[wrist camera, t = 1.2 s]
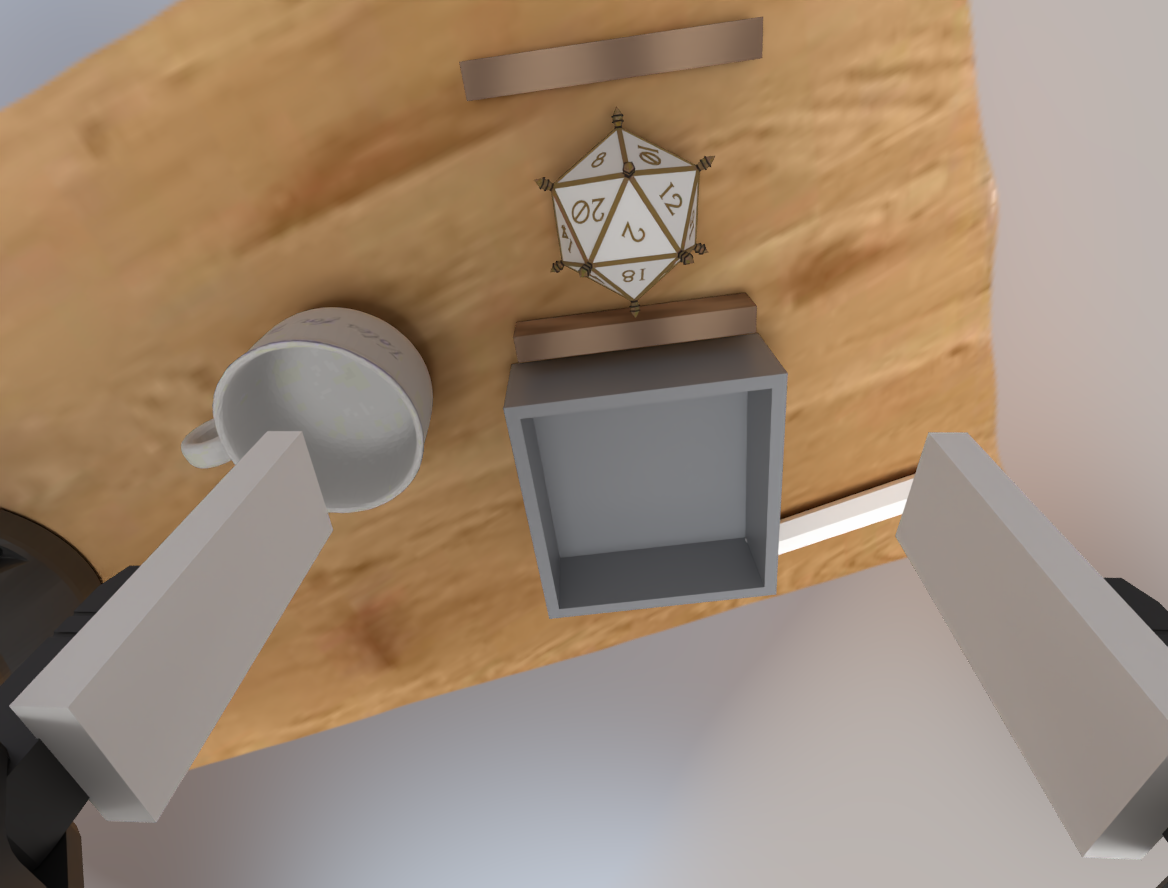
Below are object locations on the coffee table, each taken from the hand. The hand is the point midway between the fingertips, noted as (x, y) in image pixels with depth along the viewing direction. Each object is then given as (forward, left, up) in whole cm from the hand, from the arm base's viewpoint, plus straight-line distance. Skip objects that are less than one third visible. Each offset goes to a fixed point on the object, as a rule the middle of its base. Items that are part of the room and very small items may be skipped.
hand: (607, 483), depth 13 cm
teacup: (-17, -7, -25) cm, 31 cm away
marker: (+15, -22, -25) cm, 37 cm away
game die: (+2, +1, -25) cm, 25 cm away
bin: (+2, -16, -25) cm, 30 cm away
